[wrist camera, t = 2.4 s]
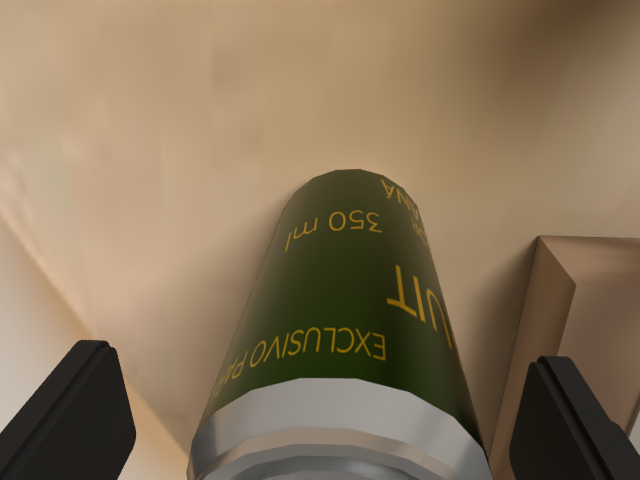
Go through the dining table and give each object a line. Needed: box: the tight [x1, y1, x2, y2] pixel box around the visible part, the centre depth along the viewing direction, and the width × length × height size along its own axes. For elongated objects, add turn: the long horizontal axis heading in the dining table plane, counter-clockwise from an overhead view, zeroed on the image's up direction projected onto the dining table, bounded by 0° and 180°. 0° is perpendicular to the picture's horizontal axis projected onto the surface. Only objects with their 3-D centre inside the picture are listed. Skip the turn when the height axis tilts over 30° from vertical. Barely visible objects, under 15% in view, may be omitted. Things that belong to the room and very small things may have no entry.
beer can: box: [187, 169, 493, 480], centre depth 13 cm, size 5×5×12 cm
